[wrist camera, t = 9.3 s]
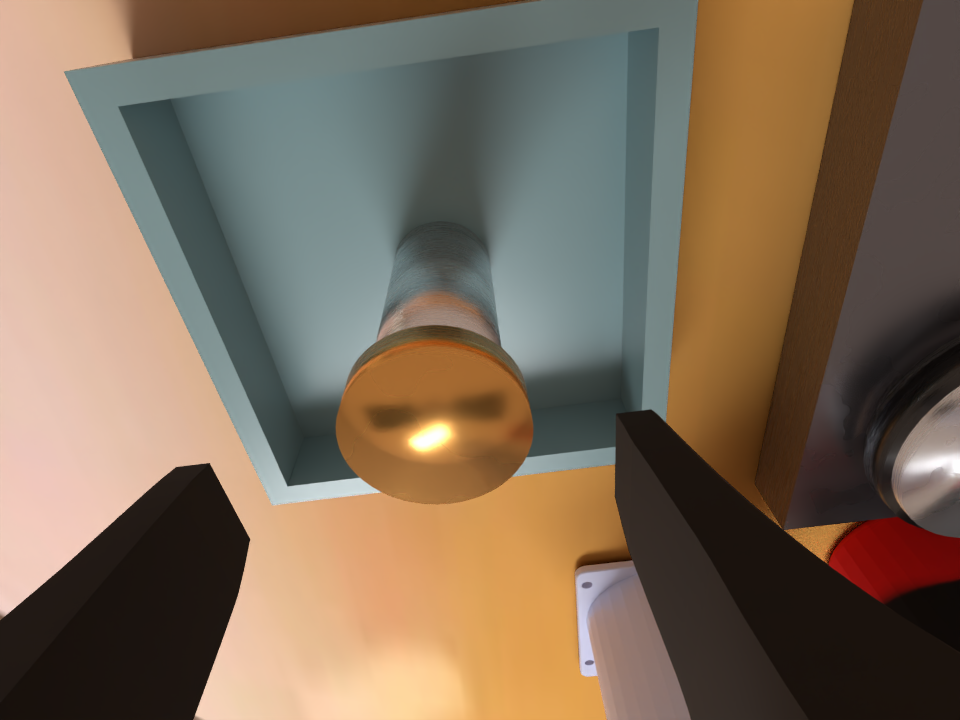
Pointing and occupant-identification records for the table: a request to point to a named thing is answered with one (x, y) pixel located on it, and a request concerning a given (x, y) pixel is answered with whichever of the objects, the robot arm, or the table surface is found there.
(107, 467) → the table surface
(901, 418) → the bracket
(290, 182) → the tray
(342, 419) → the lock pin
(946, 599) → the soda can
